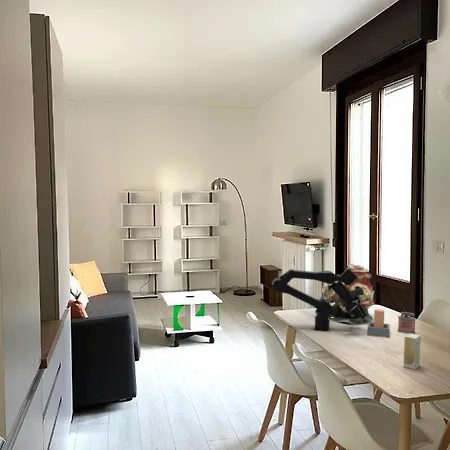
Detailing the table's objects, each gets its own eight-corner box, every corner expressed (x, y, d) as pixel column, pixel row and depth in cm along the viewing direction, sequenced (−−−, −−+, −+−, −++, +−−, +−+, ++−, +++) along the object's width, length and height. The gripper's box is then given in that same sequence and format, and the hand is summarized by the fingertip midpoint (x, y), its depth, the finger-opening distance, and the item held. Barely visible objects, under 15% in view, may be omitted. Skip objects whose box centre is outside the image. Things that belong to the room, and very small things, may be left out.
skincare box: (408, 363, 197) (410, 332, 196) (420, 365, 194) (421, 334, 194) (402, 367, 192) (404, 336, 191) (414, 369, 189) (415, 338, 189)
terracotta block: (373, 333, 238) (374, 310, 238) (373, 331, 243) (374, 308, 242) (383, 334, 237) (384, 311, 236) (383, 332, 241) (384, 309, 241)
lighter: (397, 332, 244) (398, 311, 243) (398, 330, 247) (399, 310, 246) (414, 334, 240) (415, 314, 240) (415, 332, 243) (416, 312, 243)
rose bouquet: (314, 316, 274) (316, 262, 272) (356, 312, 286) (357, 260, 285) (344, 327, 250) (346, 268, 249) (388, 322, 263) (390, 266, 261)
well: (367, 335, 237) (367, 327, 236) (368, 330, 246) (368, 322, 246) (389, 337, 234) (389, 329, 233) (389, 332, 243) (389, 324, 243)
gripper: (353, 284, 233) (376, 309, 230) (356, 278, 251) (377, 302, 248) (335, 299, 236) (358, 324, 233) (339, 292, 254) (360, 316, 251)
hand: (364, 316), depth 241 cm, fingers open, 9 cm apart
